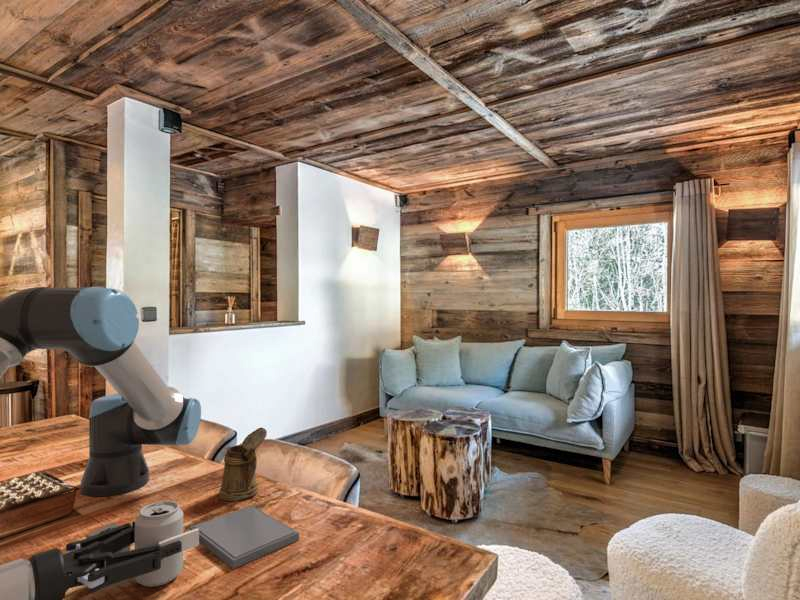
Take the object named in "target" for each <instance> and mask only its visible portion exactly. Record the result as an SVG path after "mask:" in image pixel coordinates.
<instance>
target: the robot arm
mask: <svg viewBox="0 0 800 600" xmlns="http://www.w3.org/2000/svg"><path fill="white" fill-rule="evenodd" d="M137 315H138V309H137V307H136V304H135V303H134V301H133V299H131V298H130V296H129V295H127V294H126V293H125V292H123V291H121V290H119V289H116V288H109V287H103V286H90V287H82V286H79V287H78V286H76V287H74V286H73V287H71V286H69V287H52V286H50V287H48V286H35V287H29V288H28V287H27V288H26V289H21V290H19V291H16V292H14V293H11V294H10V295H7V296H6V297H4V298H2V299H1V300H0V379H1V378H2V377H3V375H4V374H5V373H6V371H7V370H9V368H12V367H17V366H18V365H20V363H21V362H22V360H24V359H25V357H26V355H28V354H29V353H31V352H33V351H36V350H64V351H66V352H68V353H69V354H70V355H71V356H72V358H73V359H74V360H75V361H77V362H78V363H79V364H81V365H82V366H86V367H93V368H95V369H96V370H97V372H98V373H99V374H100V375H101V377H103V379H105V380H106V381H107V382H108V383H109V384H110V386H111V387H112V388H113V389H114V390H115V391H116V392H117V393H112V394H109V395H105V396H101V397H99V398H95V399H94V400H93V401H92V402H91V403H90V406H89V413H88V414H89V416H88V422H89V423H88V436H89V437H88V439H89V440H88V443H89V446H88V450H89V451H88V452H89V455H88V460H87V462H86V463H87V464H86V466H85V469H84V472H83V475H82V477H81V480H80V493H81V494H83V495H86V496H90V497H108V496H117V495H120V494H124V493H129V492H131V491H132V492H133V491H134V490H137V489H139V488H141V487H143V486H144V485H146V484H147V483H148V482H149V481H150V469H149V466H148V464H147V462H146V459H145V456H144V453H143V446H175V447H178V446H187V445H189V444H191V443H192V442H193V441H194V440H195V438H196V436H197V434H198V431H199V427H200V425H201V420H202V419H201V418H202V406H201V402H200V401H199V399H197V398H193V397H189V398H186V397H184V396H183V394H182V393H181V392H180V391H179V390H178V389H177V388H175V387H172V386H168V385H167V384H166V383H165V381H164V380H163V378H162V377H161V376H160V374H159V373H158V371H157V370H156V369H155V367H154V366H153V365H152V364H151V362H150V361H149V359H148V358H147V357H146V355H145V354H144V353H143V351H142V350H141V348H140V347H139V346H138V345H137V343H136V341H135V340H136V337H137V335H138V331H139V329H140V327H139V326H140V319H139V317H137ZM120 525H121V526H118V527H116V528H113V529H110V530H108V531H105V532H102V533H99V534H97V535H94V536H91V537H89V538H86V537H85V538H83V539H81V540H77V541H72V542H68V543H67V544H66V545H65V553H63V552H62V550H61V549H60V548H57V547H54V548H51V549H50V548H49V549H48V550H47V549H46V550H45V551H42V552H39V553H35V554H32V555H31V556H29V557H28V559H27V560H26V559H24V558H21V557H20V558H18V559H15V560H12V561H8V562H5V563H3V564H0V600H64V598H65V597H66V594H67V592H68V591H69V589H72V588H76V587H77V588H78V587H82V586H86V587H87V594H94V593H97V592H99V591H101V590H102V589H104V588H106V587H109V586H112V585H115V584H118V583H121V582H125V581H128V580H131V579H133V578H134V579H135V577H137V576H140V575H143V574H146V573H149V572H153V571H156V570H158V569H160V568H161V560H162V559H164V558H167V557H169V556H172V555H175V554H177V553H180V552H182V551H183V552H185V551H187V550H188V551H189V550H190V549H192V548H195V547H199V546H200V542H199V529H198V528H196V529H194V530H191V531H190V530H187V531H186V532H183V533H182V534H180V535H177V536H174V537H171V538H168V539H165V540H163V541H160V542H158V546H153V547H147V548H142V549H137V550H135V549H133V550H130V551H127V552H121V553H116V552H118V551H120V550H122V549H123V548H125V547H127V546H129V545H130V546H131V545H132V544H135V520H134V521H132V523H131V522H127V523H124V524H120ZM114 553H116V554H114ZM105 561H106V567H105Z"/></svg>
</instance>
